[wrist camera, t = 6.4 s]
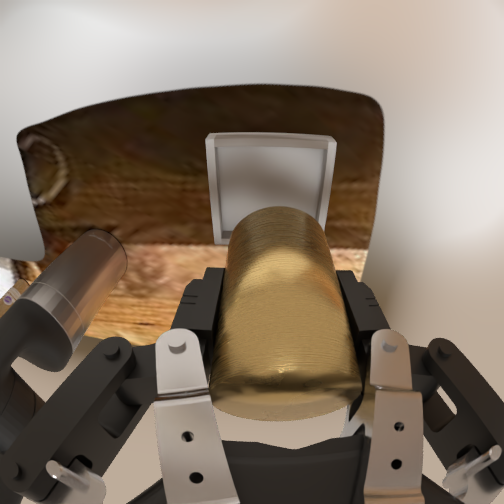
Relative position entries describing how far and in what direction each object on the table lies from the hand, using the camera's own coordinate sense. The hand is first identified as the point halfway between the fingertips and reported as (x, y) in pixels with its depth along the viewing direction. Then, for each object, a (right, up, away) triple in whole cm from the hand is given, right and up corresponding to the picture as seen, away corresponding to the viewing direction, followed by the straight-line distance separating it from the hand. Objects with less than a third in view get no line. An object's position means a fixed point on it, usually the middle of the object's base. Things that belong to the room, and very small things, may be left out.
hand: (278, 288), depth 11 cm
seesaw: (0, -2, +19) cm, 20 cm away
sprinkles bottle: (-50, -6, +32) cm, 59 cm away
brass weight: (0, +2, +1) cm, 2 cm away
